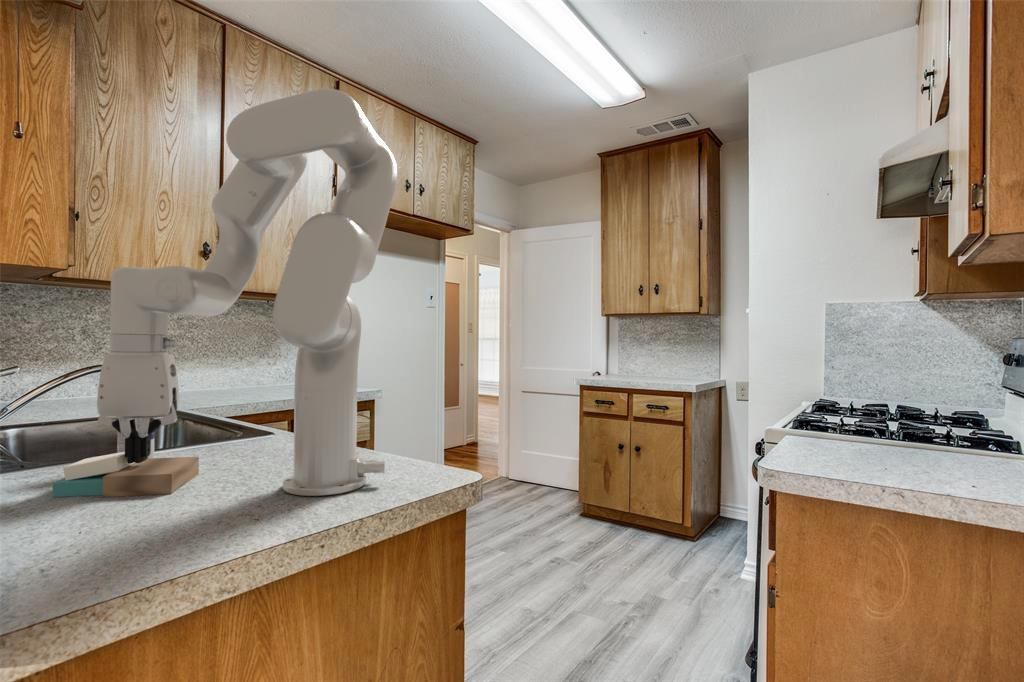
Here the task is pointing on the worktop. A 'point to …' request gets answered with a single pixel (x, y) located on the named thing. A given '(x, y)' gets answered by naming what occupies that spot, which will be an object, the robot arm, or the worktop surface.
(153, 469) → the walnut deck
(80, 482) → the teal mat
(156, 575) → the worktop surface
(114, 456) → the cream tile
